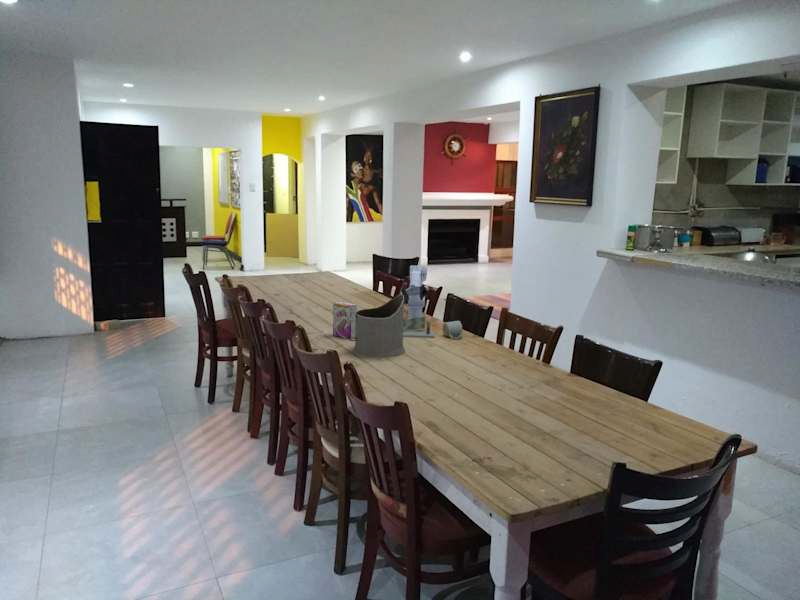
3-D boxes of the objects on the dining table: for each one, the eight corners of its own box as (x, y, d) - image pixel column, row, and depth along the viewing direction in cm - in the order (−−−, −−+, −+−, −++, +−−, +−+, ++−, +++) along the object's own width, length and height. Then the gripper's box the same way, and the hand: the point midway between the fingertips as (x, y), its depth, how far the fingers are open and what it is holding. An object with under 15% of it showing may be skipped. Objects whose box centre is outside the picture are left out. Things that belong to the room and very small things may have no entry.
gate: (401, 331, 304) (402, 319, 302) (400, 330, 305) (400, 319, 304) (424, 328, 311) (425, 317, 310) (423, 327, 312) (423, 316, 311)
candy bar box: (332, 336, 297) (332, 302, 294) (338, 334, 301) (338, 301, 298) (350, 339, 291) (351, 305, 288) (357, 337, 296) (357, 304, 292)
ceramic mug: (441, 334, 304) (442, 319, 303) (456, 334, 307) (457, 319, 305) (449, 340, 294) (450, 325, 293) (465, 339, 297) (466, 324, 295)
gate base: (393, 332, 306) (394, 319, 305) (433, 334, 306) (434, 320, 304) (393, 336, 298) (393, 322, 297) (434, 337, 298) (434, 323, 297)
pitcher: (411, 356, 265) (413, 300, 260) (339, 360, 256) (339, 302, 252) (397, 343, 287) (398, 290, 282) (330, 346, 278) (330, 292, 273)
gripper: (399, 282, 315) (397, 297, 304) (426, 275, 311) (424, 290, 300) (404, 293, 319) (402, 308, 308) (430, 286, 315) (429, 301, 304)
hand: (413, 300), depth 304 cm, fingers open, 7 cm apart
